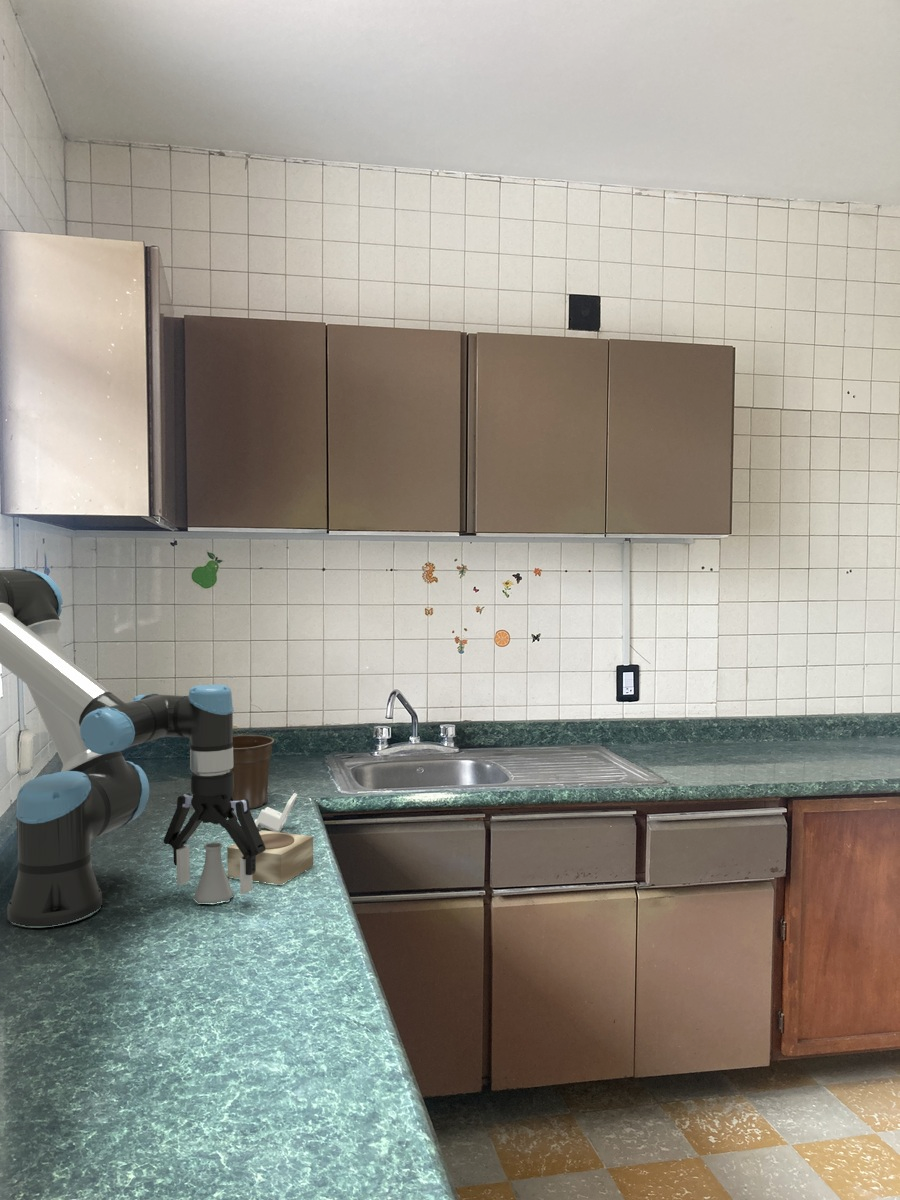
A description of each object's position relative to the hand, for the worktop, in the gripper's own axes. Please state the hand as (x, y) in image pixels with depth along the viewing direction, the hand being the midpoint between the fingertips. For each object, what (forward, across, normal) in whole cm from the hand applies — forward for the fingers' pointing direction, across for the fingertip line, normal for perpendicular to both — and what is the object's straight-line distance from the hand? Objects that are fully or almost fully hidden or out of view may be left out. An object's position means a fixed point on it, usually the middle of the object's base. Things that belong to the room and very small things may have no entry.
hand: (214, 887), depth 162 cm
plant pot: (+2, +32, -56) cm, 65 cm away
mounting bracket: (+2, +12, -37) cm, 39 cm away
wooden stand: (+2, -2, -16) cm, 16 cm away
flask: (+2, 0, 0) cm, 2 cm away
